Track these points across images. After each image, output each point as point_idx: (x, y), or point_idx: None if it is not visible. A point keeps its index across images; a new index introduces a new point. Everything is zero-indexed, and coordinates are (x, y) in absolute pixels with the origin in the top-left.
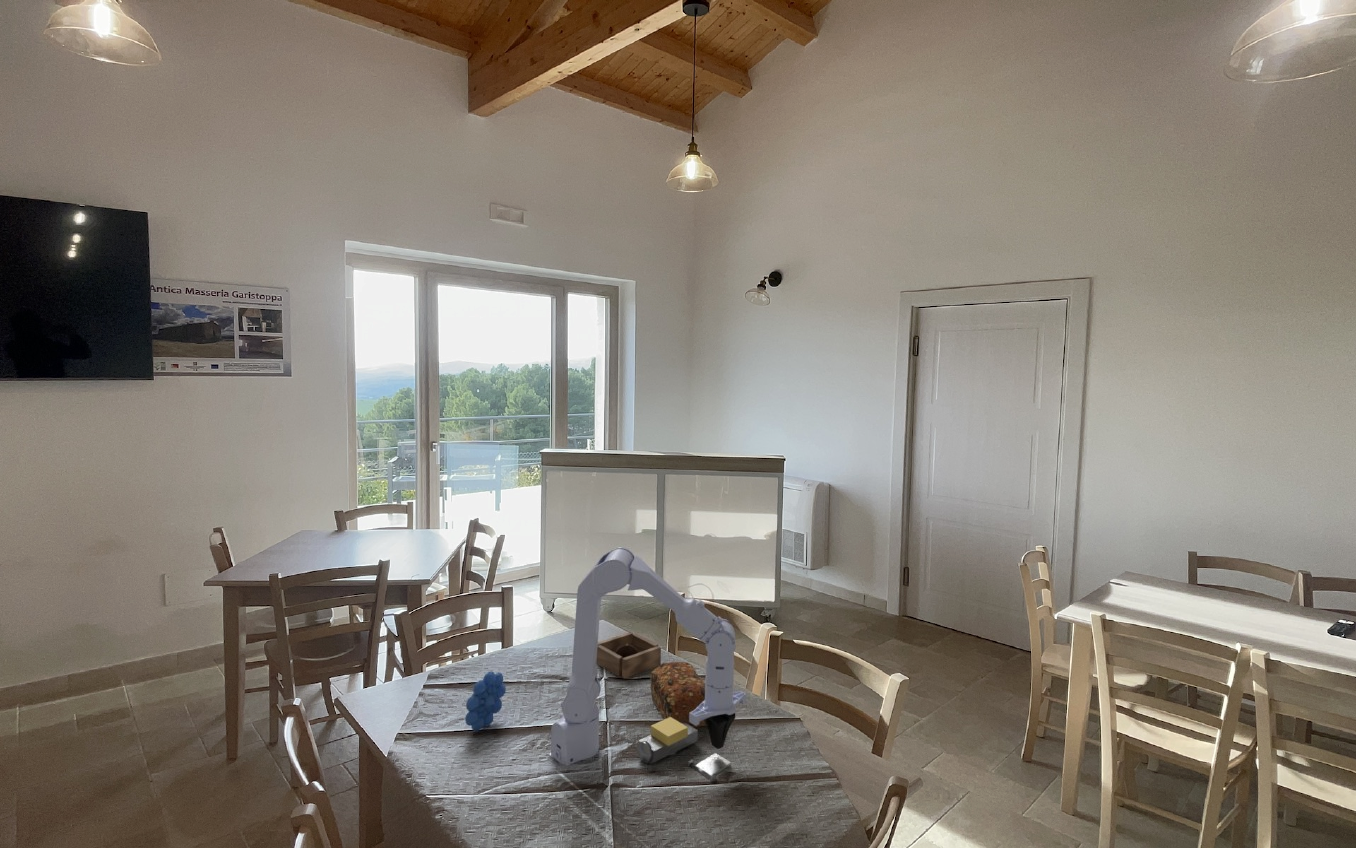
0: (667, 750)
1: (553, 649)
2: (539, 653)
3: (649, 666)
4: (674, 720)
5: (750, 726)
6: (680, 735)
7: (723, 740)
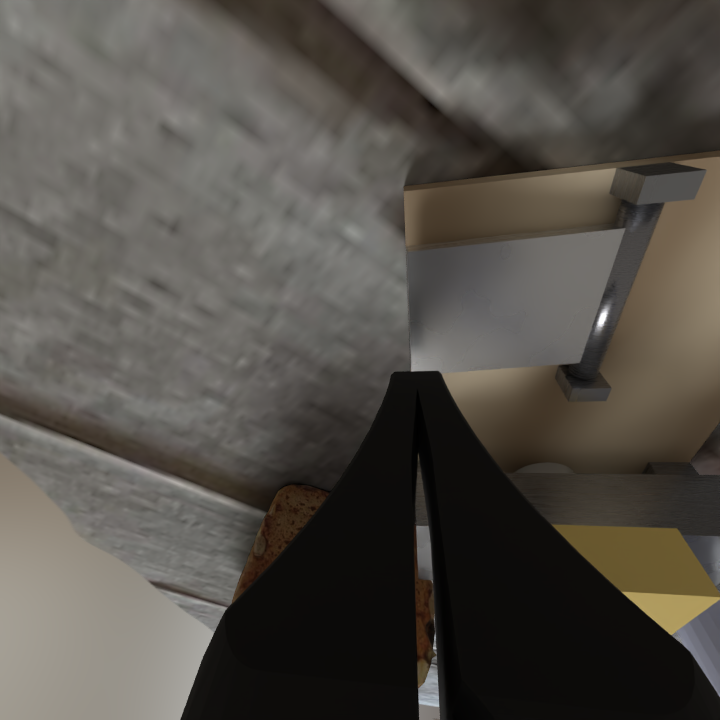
0: (641, 501)
1: None
2: (425, 695)
3: None
4: None
5: (119, 425)
6: (582, 555)
7: (405, 405)
